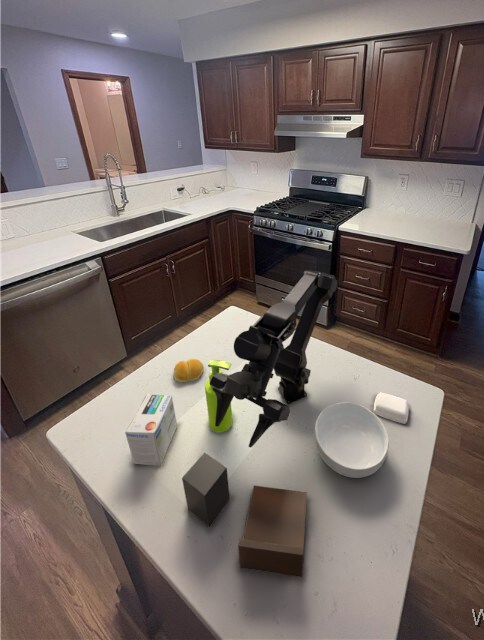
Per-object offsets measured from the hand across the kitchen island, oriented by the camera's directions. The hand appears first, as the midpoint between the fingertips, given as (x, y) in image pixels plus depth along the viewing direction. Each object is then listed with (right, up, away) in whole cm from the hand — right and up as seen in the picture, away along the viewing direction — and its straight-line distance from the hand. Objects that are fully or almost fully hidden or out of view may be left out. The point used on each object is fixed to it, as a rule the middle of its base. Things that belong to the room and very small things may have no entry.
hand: (232, 436), depth 66 cm
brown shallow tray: (+9, -14, -6) cm, 18 cm away
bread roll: (-19, +3, +30) cm, 36 cm away
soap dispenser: (-5, -5, +15) cm, 17 cm away
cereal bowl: (+26, -9, +8) cm, 29 cm away
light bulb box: (-20, -8, +10) cm, 24 cm away
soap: (+40, -4, +20) cm, 45 cm away
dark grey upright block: (-4, -13, -2) cm, 14 cm away
